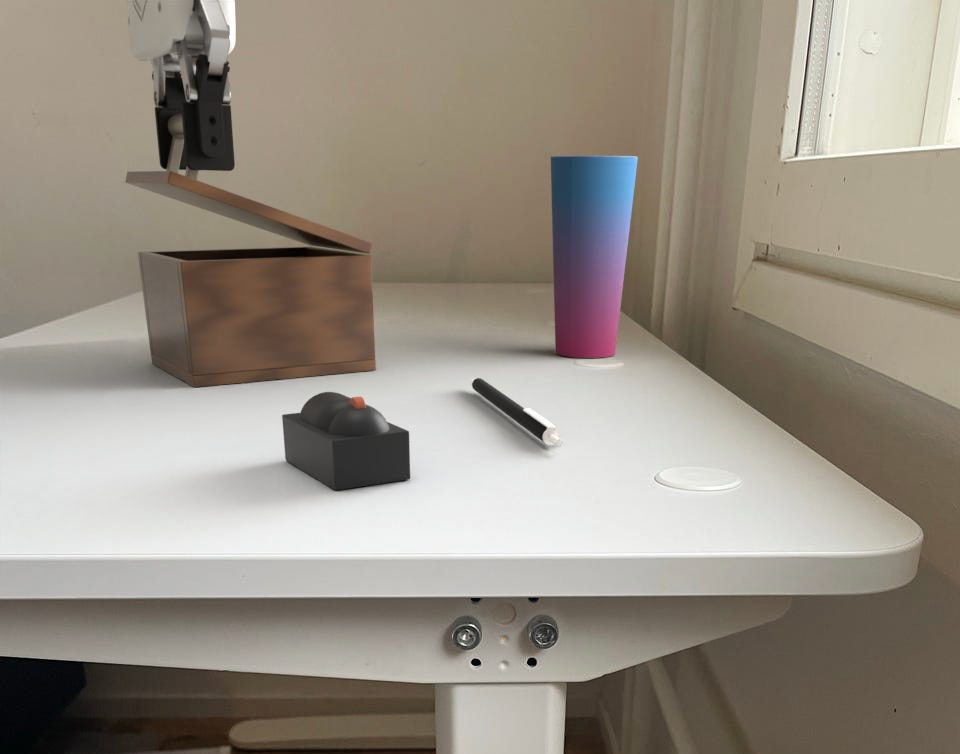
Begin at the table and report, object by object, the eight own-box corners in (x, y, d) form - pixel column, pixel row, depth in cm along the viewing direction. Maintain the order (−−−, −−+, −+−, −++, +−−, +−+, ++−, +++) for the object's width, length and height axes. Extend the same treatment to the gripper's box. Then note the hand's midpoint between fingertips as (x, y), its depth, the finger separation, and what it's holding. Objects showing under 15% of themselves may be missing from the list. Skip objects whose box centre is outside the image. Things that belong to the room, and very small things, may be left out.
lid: (167, 183, 66) (184, 95, 65) (124, 182, 75) (139, 105, 74) (370, 254, 75) (388, 177, 73) (309, 245, 84) (325, 177, 82)
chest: (194, 387, 72) (180, 262, 68) (151, 363, 81) (137, 251, 77) (376, 370, 78) (371, 255, 75) (317, 350, 87) (311, 246, 84)
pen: (550, 451, 55) (551, 430, 54) (465, 386, 71) (465, 370, 71) (566, 450, 55) (567, 429, 54) (478, 386, 72) (478, 369, 71)
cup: (571, 344, 90) (578, 157, 84) (640, 352, 87) (653, 157, 80) (529, 354, 85) (534, 156, 79) (600, 362, 82) (611, 155, 75)
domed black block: (285, 460, 53) (279, 383, 52) (355, 450, 55) (351, 376, 54) (335, 491, 48) (330, 407, 47) (410, 479, 50) (408, 398, 48)
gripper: (82, -122, 70) (115, 168, 77) (143, -190, 56) (175, 169, 64) (191, -105, 73) (212, 170, 81) (274, -166, 60) (290, 172, 67)
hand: (196, 167), depth 72 cm, fingers closed on lid, 6 cm apart
